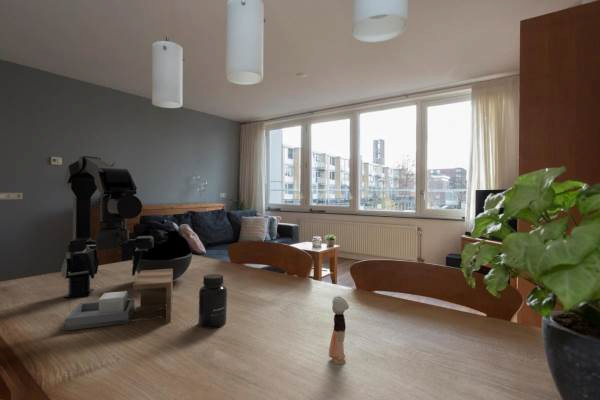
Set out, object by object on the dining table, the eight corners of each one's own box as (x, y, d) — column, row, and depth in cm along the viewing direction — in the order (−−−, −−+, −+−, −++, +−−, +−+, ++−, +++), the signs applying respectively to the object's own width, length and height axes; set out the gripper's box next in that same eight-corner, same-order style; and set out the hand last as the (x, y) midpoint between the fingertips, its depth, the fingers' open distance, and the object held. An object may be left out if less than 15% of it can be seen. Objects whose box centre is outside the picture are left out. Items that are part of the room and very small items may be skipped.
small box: (104, 310, 84) (104, 292, 84) (128, 308, 86) (128, 290, 86) (98, 318, 79) (98, 299, 79) (124, 316, 81) (124, 297, 81)
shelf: (140, 305, 91) (140, 270, 91) (172, 302, 94) (172, 268, 94) (132, 326, 77) (133, 285, 77) (170, 322, 80) (170, 282, 80)
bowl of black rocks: (203, 281, 118) (203, 230, 117) (151, 294, 102) (151, 236, 101) (172, 272, 130) (172, 226, 129) (121, 283, 113) (121, 231, 113)
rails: (73, 317, 83) (73, 316, 83) (168, 307, 91) (168, 306, 91) (62, 329, 75) (62, 328, 75) (167, 317, 83) (167, 316, 83)
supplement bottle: (219, 330, 76) (219, 280, 76) (193, 327, 77) (193, 278, 77) (231, 319, 83) (231, 273, 82) (206, 317, 84) (207, 271, 84)
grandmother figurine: (325, 350, 67) (326, 290, 66) (343, 350, 67) (344, 290, 67) (332, 371, 59) (333, 303, 59) (352, 370, 59) (353, 303, 59)
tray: (80, 313, 85) (80, 303, 85) (134, 308, 89) (134, 298, 89) (65, 330, 74) (65, 318, 74) (128, 323, 79) (128, 312, 79)
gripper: (58, 219, 71) (58, 289, 71) (150, 218, 78) (150, 282, 78) (74, 216, 82) (74, 276, 82) (154, 215, 88) (154, 271, 88)
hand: (113, 276), depth 82 cm, fingers open, 9 cm apart
